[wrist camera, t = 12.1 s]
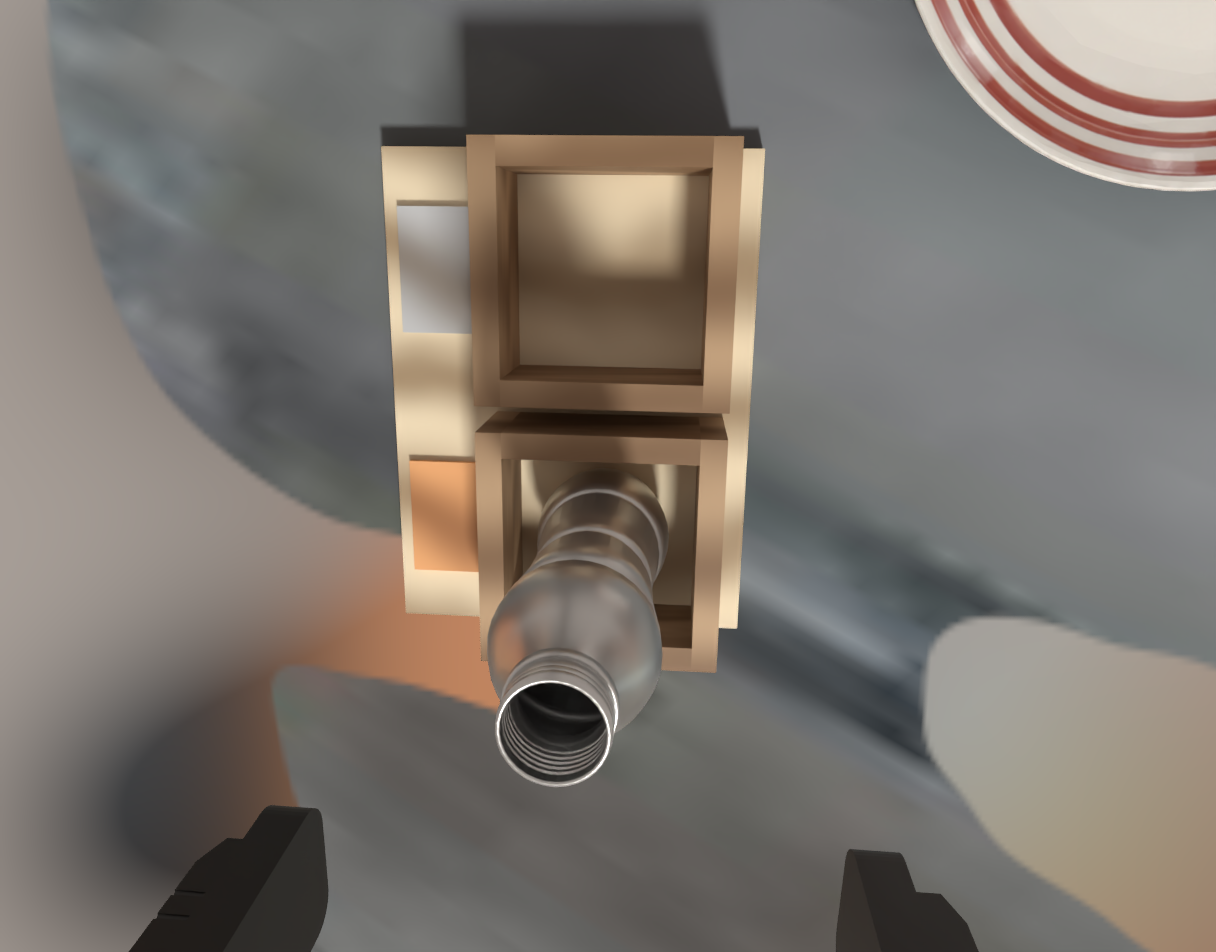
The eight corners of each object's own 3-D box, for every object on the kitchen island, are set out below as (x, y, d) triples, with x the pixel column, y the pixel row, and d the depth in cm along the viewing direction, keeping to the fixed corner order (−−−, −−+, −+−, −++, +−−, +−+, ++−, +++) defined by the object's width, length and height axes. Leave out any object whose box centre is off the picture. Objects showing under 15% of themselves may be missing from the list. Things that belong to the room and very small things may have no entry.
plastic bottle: (668, 456, 44) (659, 629, 24) (670, 581, 46) (663, 832, 26) (542, 458, 44) (437, 628, 25) (549, 580, 46) (455, 827, 27)
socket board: (388, 148, 42) (341, 133, 36) (763, 150, 40) (776, 136, 35) (411, 605, 48) (375, 655, 42) (735, 620, 47) (743, 674, 41)
